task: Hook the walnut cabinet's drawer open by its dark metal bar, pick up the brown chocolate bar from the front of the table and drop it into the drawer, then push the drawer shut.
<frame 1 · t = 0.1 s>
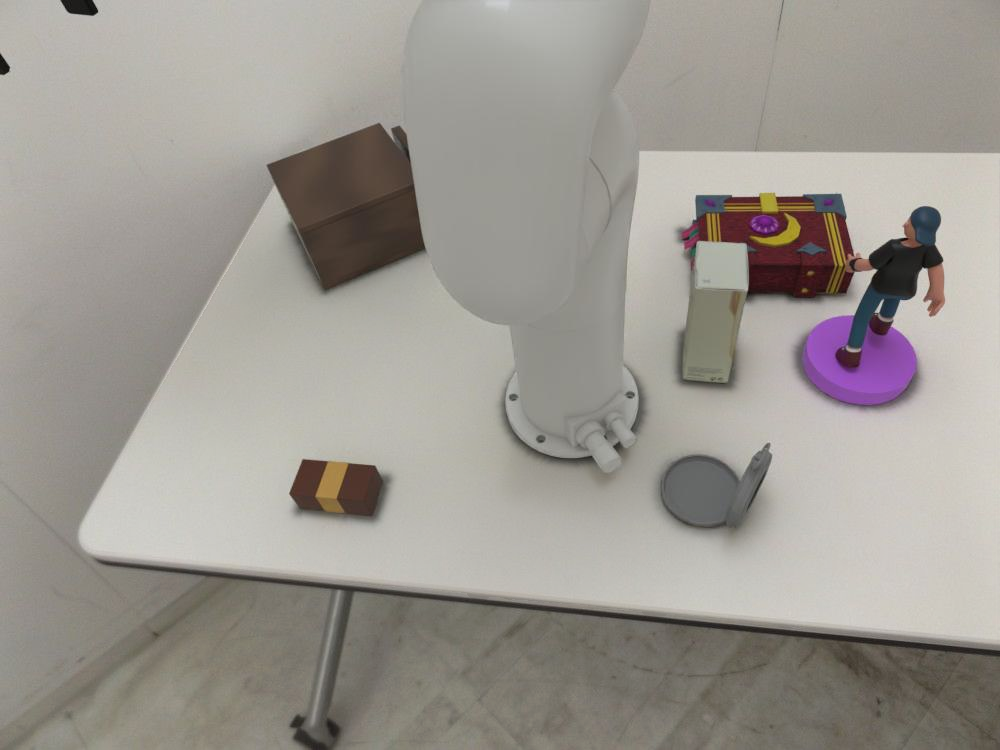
hand: (42, 41, 57), 31 cm above the table, tool pointing down, fingers open, 9 cm apart
cabinet: (363, 233, 86), on the table
chocolate bar: (341, 494, 63), on the table
cosmetic box: (705, 358, 68), on the table
drawer: (392, 188, 83), point 5 cm above the table, slide at 1.0 cm
pocket watch: (712, 502, 58), on the table
figurine: (854, 366, 65), on the table
decorative book: (758, 261, 75), on the table
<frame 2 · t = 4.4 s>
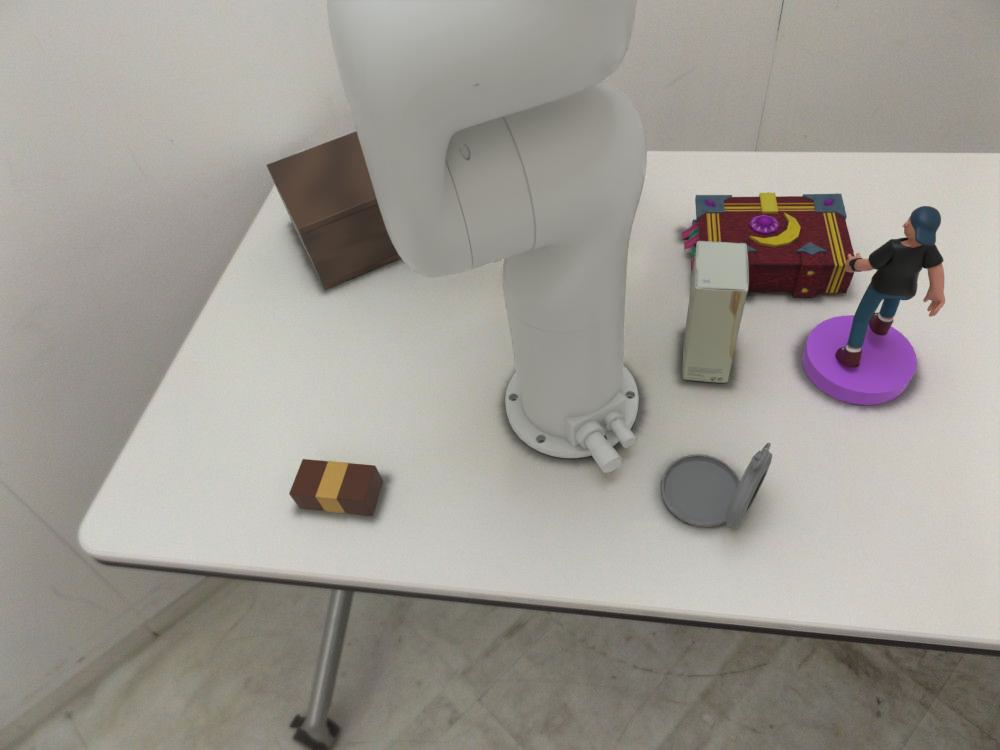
hand: (452, 151, 84), 6 cm above the table, tool pointing down, fingers closed
drawer: (398, 186, 83), point 5 cm above the table, slide at 1.7 cm, touching gripper
everything else where it was.
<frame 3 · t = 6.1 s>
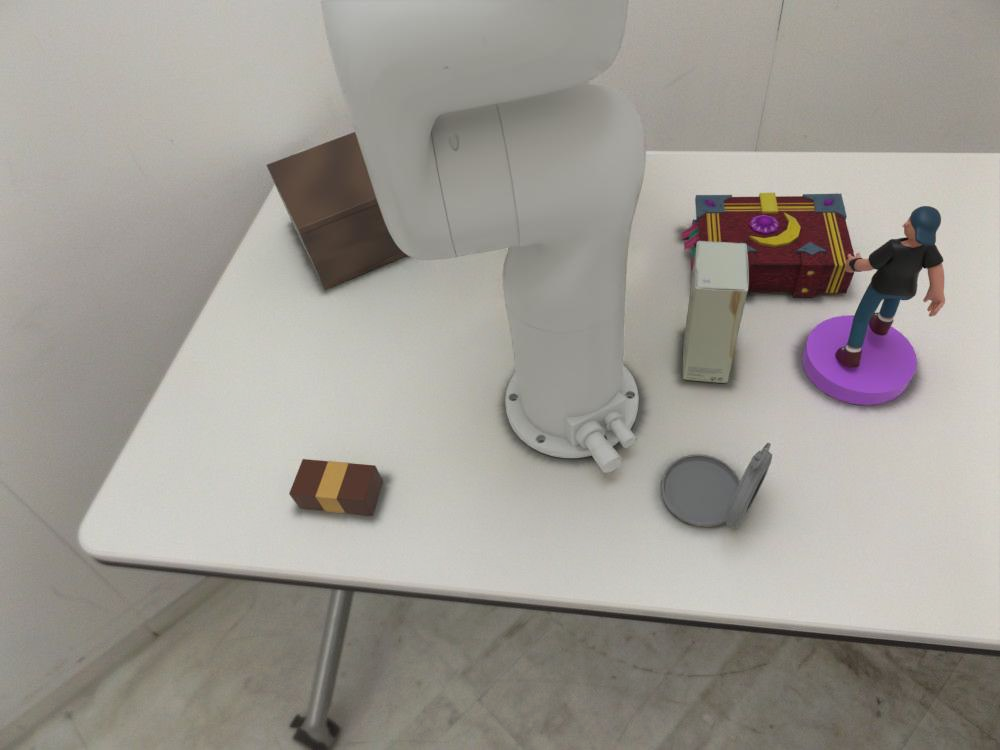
hand: (507, 129, 85), 6 cm above the table, tool pointing down, fingers closed
drawer: (454, 164, 85), point 5 cm above the table, slide at 9.3 cm, touching gripper
everything else where it was.
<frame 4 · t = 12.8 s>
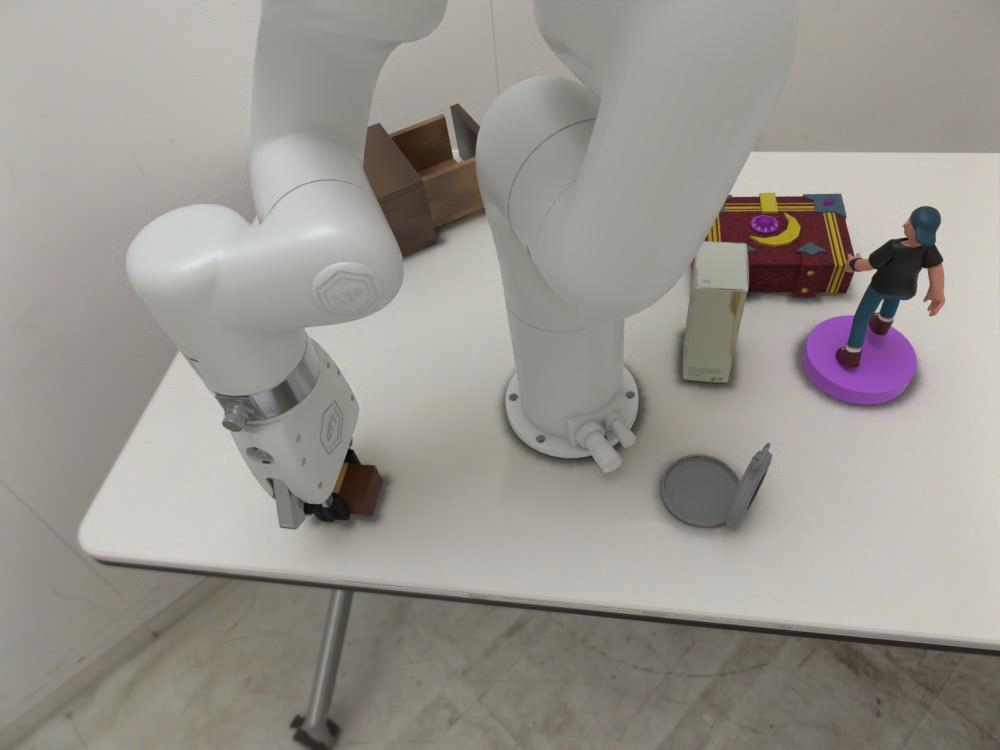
hand: (340, 493, 62), 0 cm above the table, tool pointing down, fingers closed on chocolate bar, 3 cm apart
chocolate bar: (341, 494, 63), on the table, touching gripper
drawer: (453, 164, 85), point 5 cm above the table, slide at 9.1 cm
everything else where it was.
when the fingers open (6 cm above the table, at t = 20.6 s): chocolate bar drops 3 cm, resting on drawer.
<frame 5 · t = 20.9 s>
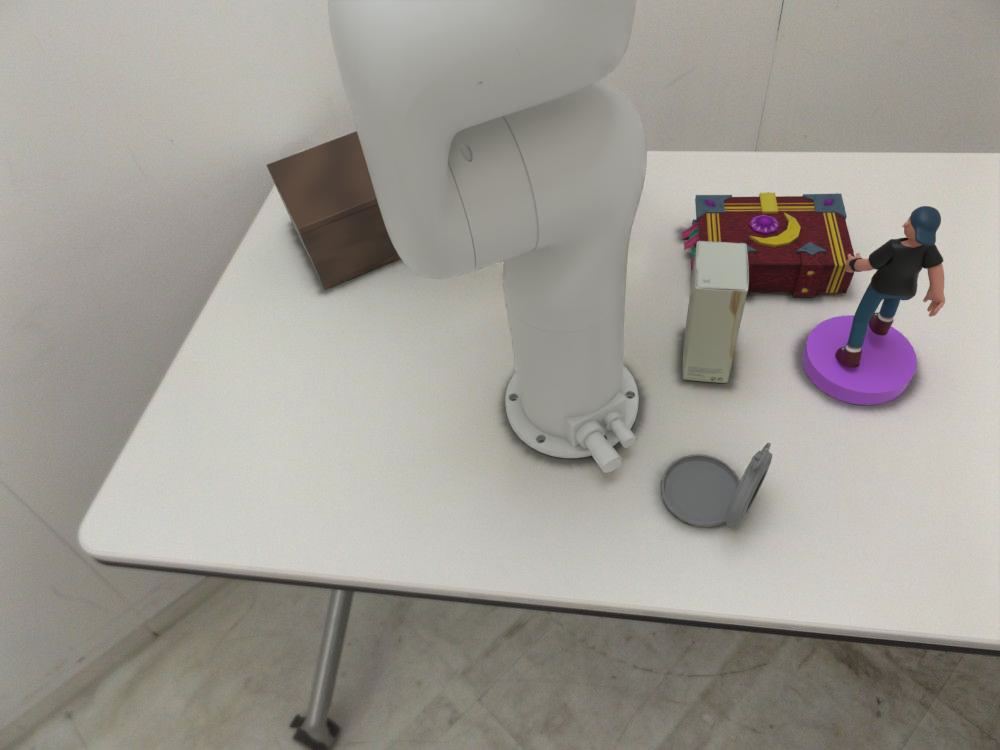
hand: (445, 158, 83), 6 cm above the table, tool pointing down, fingers open, 5 cm apart
chocolate bar: (451, 183, 87), point 2 cm above the table, touching drawer
drawer: (460, 161, 85), point 5 cm above the table, slide at 10.1 cm, touching chocolate bar, gripper
everything else where it was.
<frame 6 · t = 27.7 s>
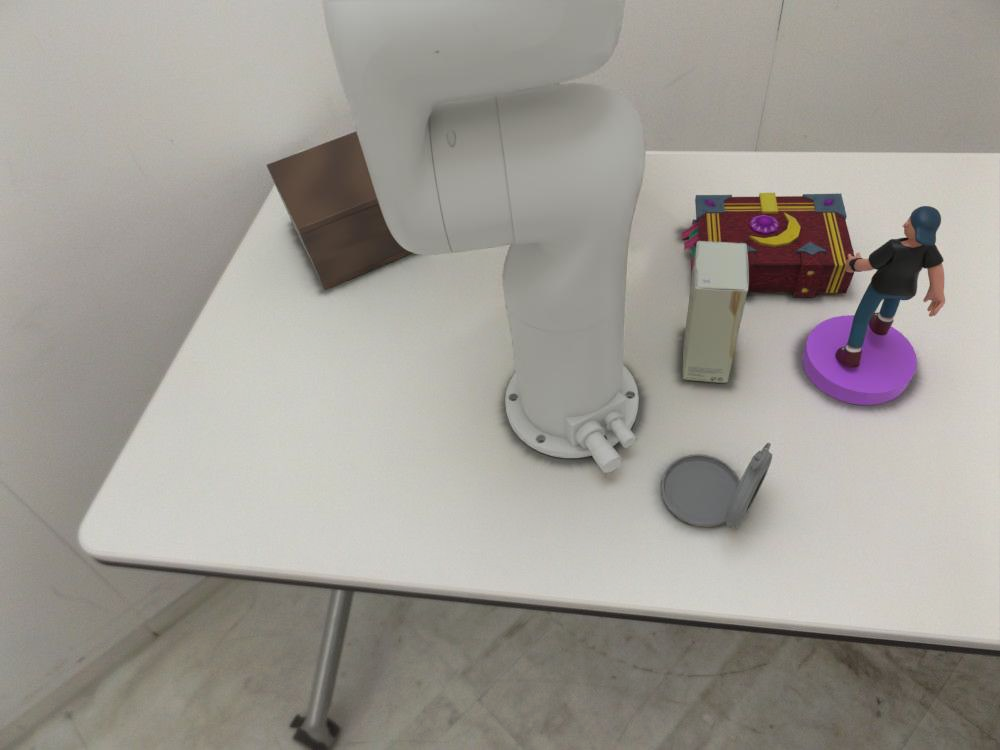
hand: (527, 131, 86), 5 cm above the table, tool pointing down, fingers closed
chocolate bar: (442, 186, 86), point 2 cm above the table, touching drawer
drawer: (451, 165, 85), point 5 cm above the table, slide at 8.8 cm, touching chocolate bar, gripper
everything else where it was.
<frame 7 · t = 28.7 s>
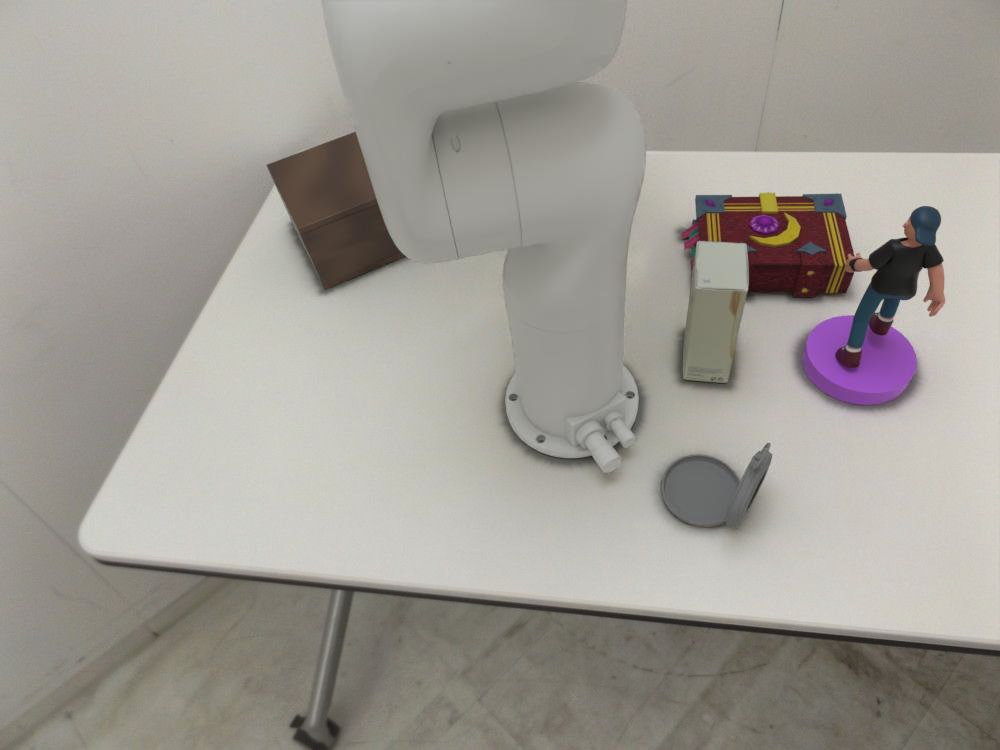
hand: (499, 144, 86), 5 cm above the table, tool pointing down, fingers closed
chocolate bar: (413, 198, 86), point 2 cm above the table, touching drawer
drawer: (421, 177, 84), point 5 cm above the table, slide at 4.8 cm, touching chocolate bar, gripper
everything else where it was.
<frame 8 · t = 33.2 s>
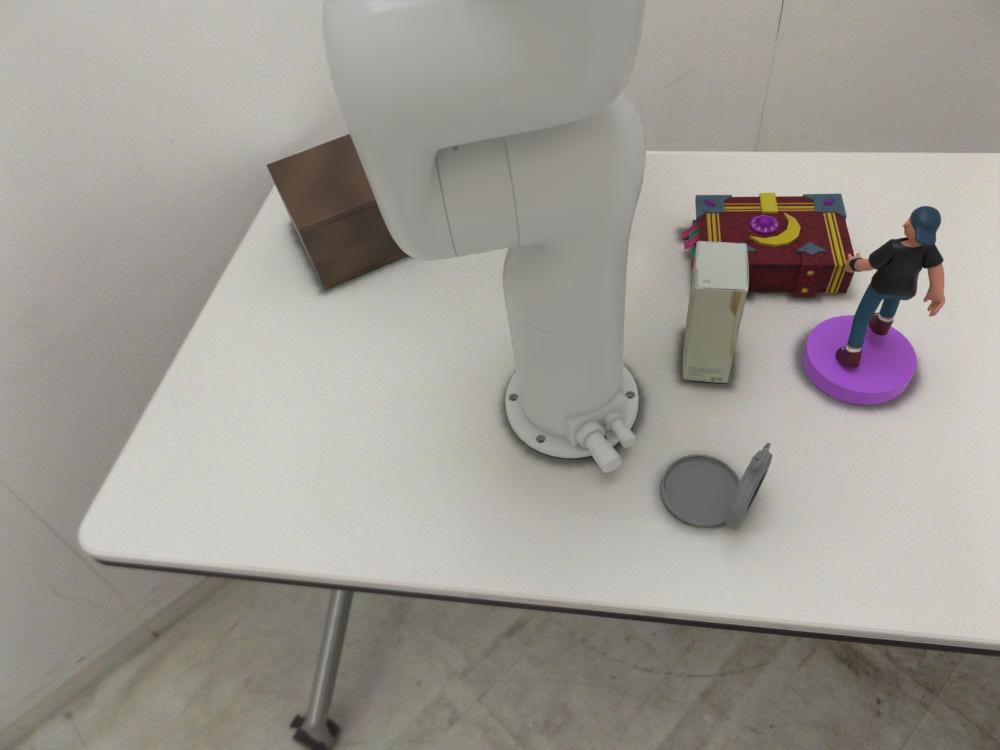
hand: (494, 25, 75), 19 cm above the table, tool pointing down, fingers closed
chocolate bar: (377, 212, 85), point 2 cm above the table, touching drawer
drawer: (385, 191, 83), point 5 cm above the table, slide at 0.0 cm, touching cabinet, chocolate bar
everything else where it was.
at the end: drawer pulled out 10.1 cm at the most during the clip, back to where it started at the end; chocolate bar inside the target area in the cabinet (2.5 cm from its centre), point 2.0 cm above the cabinet's base; drawer slide at 0.0 cm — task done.
